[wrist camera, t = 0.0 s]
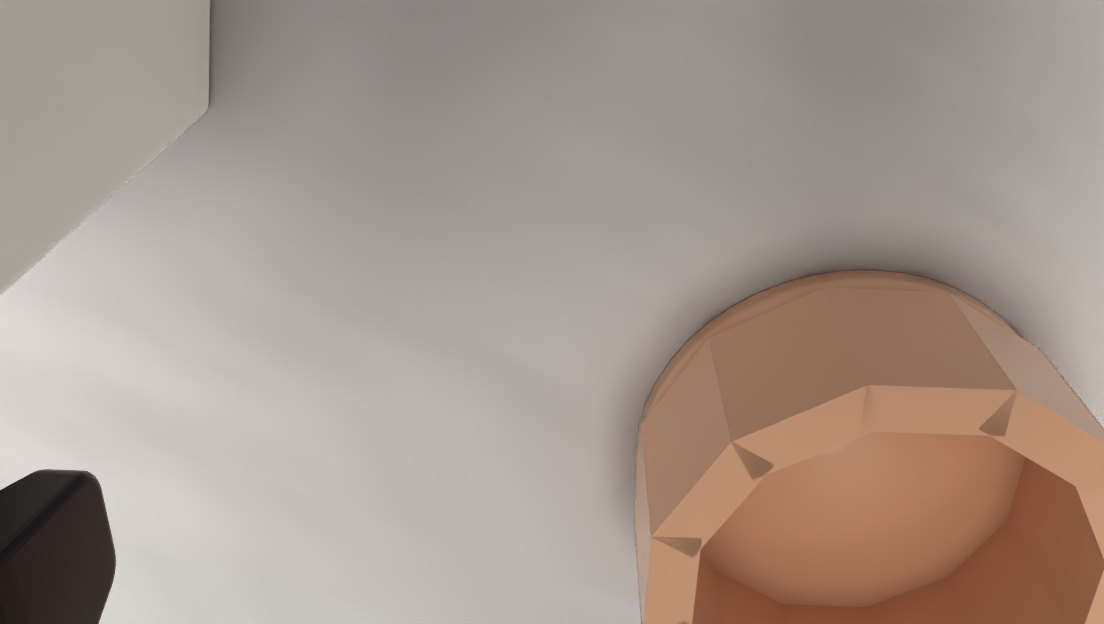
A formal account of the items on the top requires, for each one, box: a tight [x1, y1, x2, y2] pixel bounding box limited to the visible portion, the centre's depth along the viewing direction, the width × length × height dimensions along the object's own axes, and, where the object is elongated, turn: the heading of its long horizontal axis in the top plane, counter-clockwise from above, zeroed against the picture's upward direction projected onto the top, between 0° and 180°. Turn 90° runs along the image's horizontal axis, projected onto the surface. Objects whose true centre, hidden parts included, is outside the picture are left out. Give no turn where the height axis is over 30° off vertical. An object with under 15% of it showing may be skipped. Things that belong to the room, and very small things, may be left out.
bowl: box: [634, 270, 1104, 624], centre depth 23 cm, size 10×10×5 cm
